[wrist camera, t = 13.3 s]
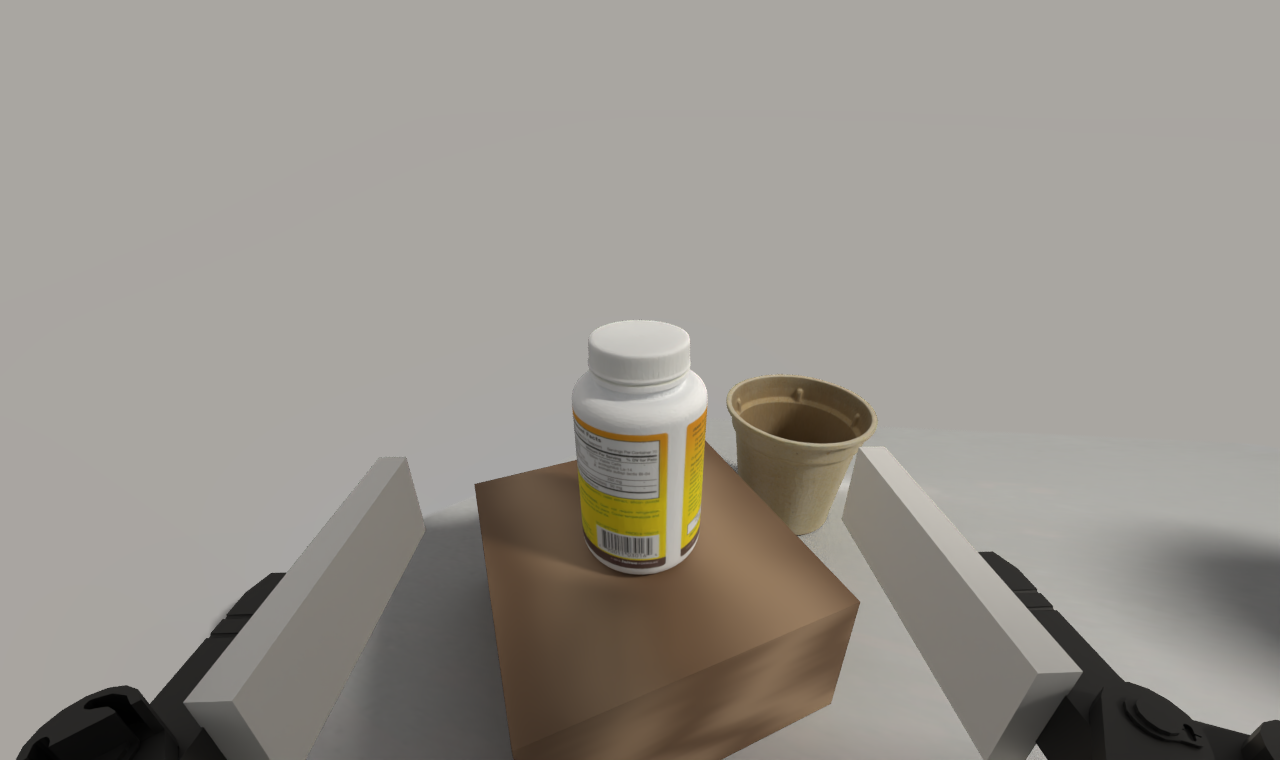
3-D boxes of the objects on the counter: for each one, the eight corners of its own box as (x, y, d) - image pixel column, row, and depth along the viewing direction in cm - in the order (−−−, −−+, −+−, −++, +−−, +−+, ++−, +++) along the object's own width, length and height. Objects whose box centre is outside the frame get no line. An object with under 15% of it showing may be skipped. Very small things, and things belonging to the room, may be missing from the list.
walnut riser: (692, 513, 34) (696, 431, 31) (830, 703, 22) (860, 601, 19) (492, 573, 29) (474, 484, 26) (535, 854, 18) (511, 751, 14)
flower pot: (872, 505, 35) (899, 402, 31) (815, 581, 29) (840, 466, 25) (759, 454, 41) (771, 363, 37) (692, 509, 34) (698, 406, 31)
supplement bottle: (665, 485, 26) (670, 306, 21) (721, 556, 21) (742, 348, 17) (567, 514, 24) (550, 323, 19) (606, 600, 19) (595, 376, 15)
